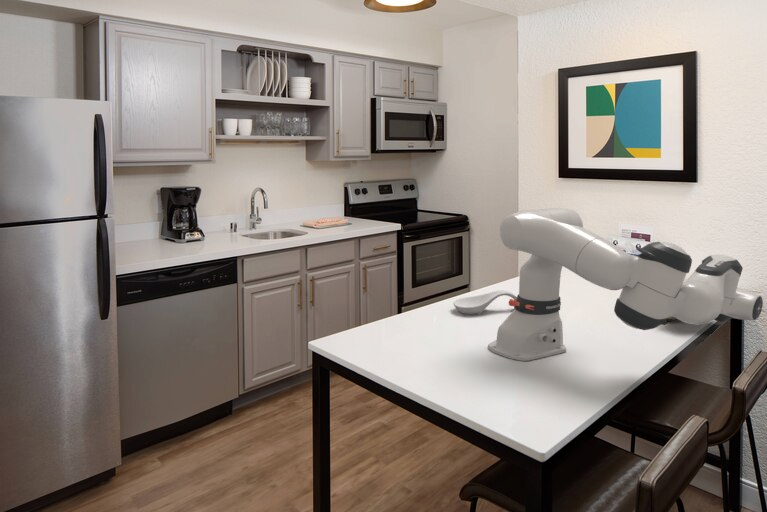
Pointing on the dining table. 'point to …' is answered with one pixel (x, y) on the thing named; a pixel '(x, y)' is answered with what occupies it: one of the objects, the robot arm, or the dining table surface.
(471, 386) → the dining table surface
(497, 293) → the spoon rest
